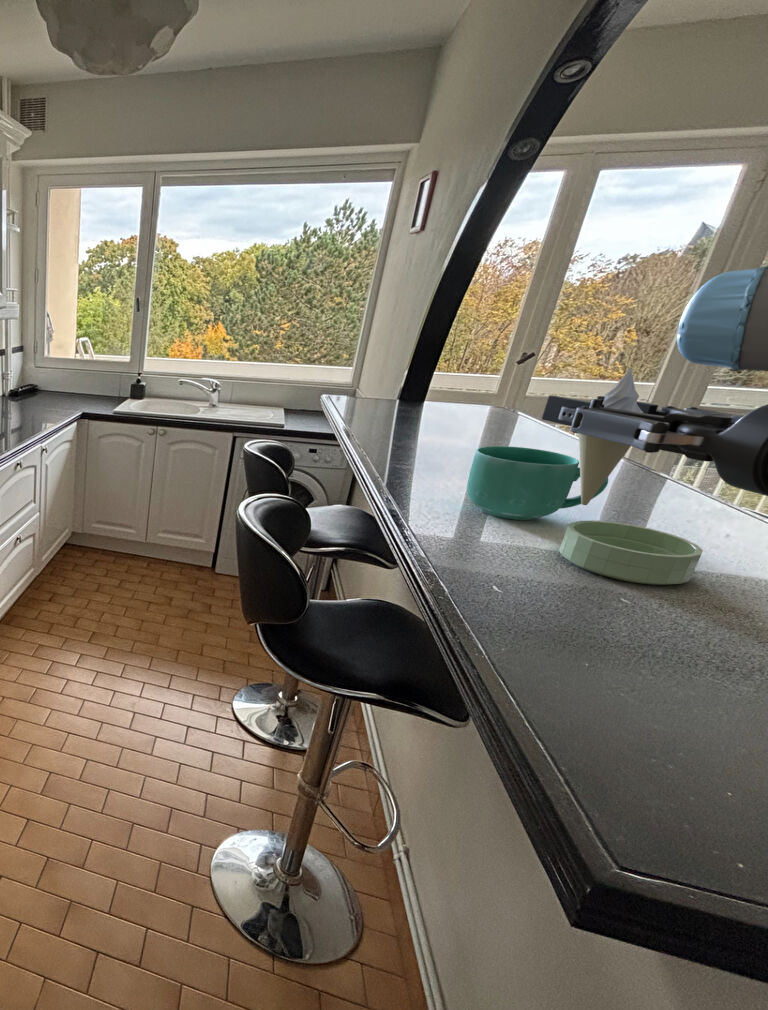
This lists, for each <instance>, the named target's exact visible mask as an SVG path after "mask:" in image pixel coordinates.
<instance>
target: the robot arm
mask: <svg viewBox="0 0 768 1010" xmlns="http://www.w3.org/2000/svg"><path fill="white" fill-rule="evenodd" d="M678 324H679V326H678V334H677V335H676V343H677V348H678V351H679V353H680V354H681V356H682V357H683V358H684V359H685V360H687V361H688V362H690V363H692V364H697V365H704V366H713V367H721V368H722V367H723V368H729V369H731V370H732V371H742V370H744V371H745V370H746V371H760V372H761V371H762V372H768V266H760V267H758V268H751V269H750V268H749V269H739V270H730V271H726V272H723V273H720V274H718V275H716V276H714V277H712V278H711V279H709V280H708V281H707V282H705V283H704V284H703V285H702V286H701V287H700V288H699V289H698V290H697V291H696V292H695V293H694V294H693V296H692V297H691V299H689V301H688V303H687V305H686V306H685V308H684V310H683V312H682V314H681V317H680V320H679V323H678ZM604 399H605V395H598V396H597V398H592V399H591V401H587V400H581V399H575V398H570V397H564V396H559V395H548V398H547V401H546V403H545V407H544V409H543V414H542V416H541V420H543V421H547V422H550V423H555V424H560V425H563V426H568V427H570V428H569V432H571V433H573V434H579V433H580V434H584V435H588V436H592V437H596V438H600V439H604V440H608V441H613V442H617V443H621V444H625V445H629V446H631V447H633V448H635V449H638V450H641V451H643V452H645V453H648V454H650V453H651V454H653V453H659V452H660V451H663V452H668V453H672V454H673V453H674V454H679V455H684V457H686V458H688V459H690V460H694V461H695V460H696V461H700V462H707V463H708V462H709V463H710V462H711V463H712V462H714V466H715V469H716V472H717V474H718V476H719V477H720V479H721V480H722V481H723V482H724V483H726V484H727V485H728V486H731V487H733V488H736V489H739V490H743V491H747V492H751V493H754V494H758V495H762V496H766V497H768V404H764V405H762V406H758V407H757V408H754V409H753V410H751V411H750V412H748V413H745V415H744V414H734V413H728V412H727V413H726V412H721V411H716V410H709V409H703V408H698V407H696V406H690V407H685V408H684V409H683V408H679V407H676V406H673V405H666V406H661V407H660V409H658V408H659V404H654V403H648V402H641V401H636V403H637V405H638V407H639V408H640V409H641V410H642V412H643V413H639V412H632V411H625V410H618V409H611V408H605V407H604V405H603V401H604Z"/></svg>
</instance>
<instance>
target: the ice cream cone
mask: <svg viewBox="0 0 768 1010" xmlns="http://www.w3.org/2000/svg"><path fill="white" fill-rule="evenodd" d="M604 396H605V399H604V401H603V405H604V407H605V408H611V409H618V410H625V411H632V412H639V413H643V412H642V410H641V409H640V408H639V407H638V405H637V403H636V402H638V399H639V398H640V395H639V394H638V392H637V391H636V387H635V382H634V376H633V367H630V368H629V369H628V370H627V371H626V373H624V374H623V376H622V377H621V378H620V380H619V381H618V382H617V383H616V384H615V386H614V387H612V389H610V390H609V391H608V392H607V393H605V394H604ZM631 447H632V446H629V445H625V444H621V443H617V442H613V441H608V440H604V439H600V438H596V437H592V436H588V435H584V434H580V433H578V453H579V455H578V456H579V467H580V477H579V479H580V481H579V482H580V495H581V504H580V505H582V506H588V504H589V503H590V502H591V501H592V500H593V499H594V498H593V496H594V495H595V494H596V492H597V491H598V490H599V488H600V487H601V486H602V484H603V483H604V482H605V480H606V479H607V478H608V479H609V476H610V475H611V474H612V472H613V471H614V470H615V468H616V467H617V466H618V464H619V463H620V462H621V460H622V459H623V458H624V456H625V455H626V453H627V452H628V451H629V450H630V448H631ZM592 498H593V499H592Z"/></svg>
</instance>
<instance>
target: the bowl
mask: <svg viewBox="0 0 768 1010" xmlns="http://www.w3.org/2000/svg"><path fill="white" fill-rule="evenodd" d="M703 552H704V551H703V549H702V548H701V547H700V546H699V545H698V544H696V543H694V542H692V541H691V540H688V539H686V538H684V537H680V536H677V535H674V534H672V533H668V532H664V531H661V530H656V529H654V528H650V527H646V526H645V527H644V526H640V525H634V524H630V523H622V522H616V521H615V522H614V521H606V520H605V521H604V520H577V521H574V522H571V523H570V524H568V525H567V527H566V530H565V532H564V536H563V538H562V541H561V543H560V547H559V553H560V555H561V556H562V557H563V558H565V559H566V560H567V561H569V562H570V563H572V564H573V565H576V566H578V567H580V568H582V569H584V570H585V571H588V572H591V573H595V574H597V575H600V576H604V577H607V578H610V579H611V578H612V579H616V580H619V581H625V582H630V583H635V584H642V585H643V584H644V585H651V586H652V585H653V586H655V585H656V586H667V585H668V586H669V585H679V584H680V585H681V584H684V583H688V582H690V580H691V578H692V576H693V574H694V572H695V570H696V567H697V565H698V563H699V561H700V559H701V556H702V555H703Z"/></svg>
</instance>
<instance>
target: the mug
mask: <svg viewBox="0 0 768 1010" xmlns="http://www.w3.org/2000/svg"><path fill="white" fill-rule="evenodd" d="M579 479H580V460H578V459H577V458H575V457H573V456H571V455H568V454H564V453H559V452H555V451H550V450H544V449H538V448H530V447H522V446H506V445H505V446H503V445H496V446H495V445H493V446H483V447H478V448H477V449H476V450H475V452H474V455H473V459H472V462H471V466H470V470H469V473H468V477H467V483H466V495H467V497H468V499H469V500H470V501H471V503H472V504H474V505H475V506H476V507H477V508H478V509H479V508H480V510H481V511H482V512H483V513H486V514H487V515H490V516H494V517H497V518H502V519H507V520H515V521H532V520H535V519H538V518H542V517H546V516H549V515H552V514H554V513H556V512H557V511H559V510H562V509H568V508H573V507H576V506H579V505H582V504H581V494H579V495H577V496H573V497H568V496H569V494H570V491H571V489H572V486H573V483H574V482H577V481H578V480H579ZM608 484H609V477H608V478H607V479H606V480H605V482H604V483H603V484H602V486H601V487H600V488H599V490H598V491H597V492H596V494H595V495H594V496H593V498H592V499H591V500H593V499H595V498H597V496H599V495H600V494H601V493H602V492H604V490H606V488H607V486H608Z"/></svg>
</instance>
